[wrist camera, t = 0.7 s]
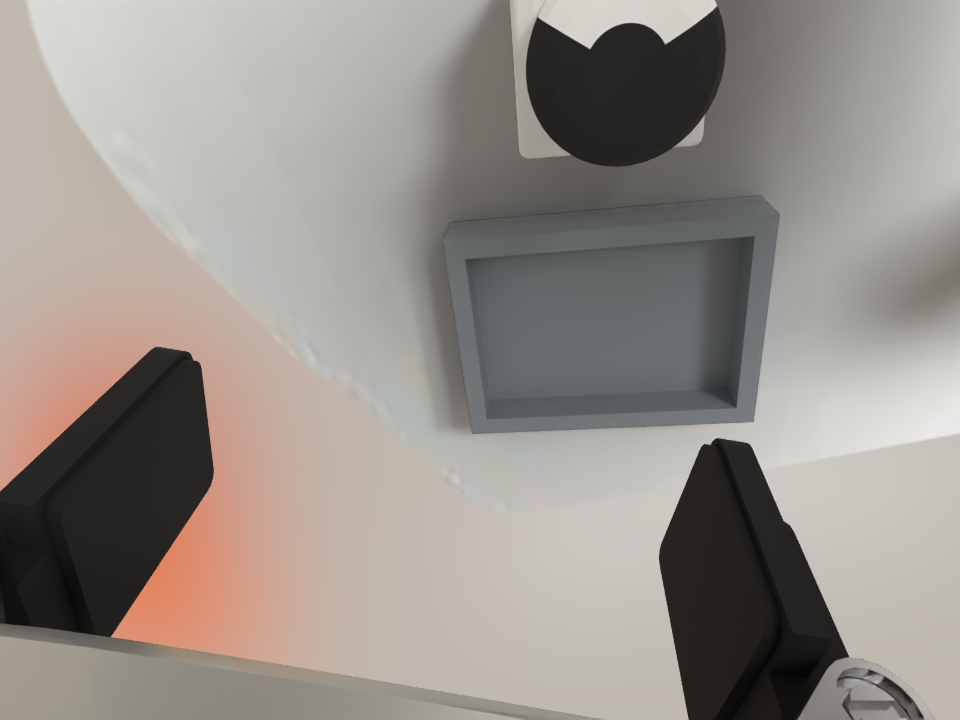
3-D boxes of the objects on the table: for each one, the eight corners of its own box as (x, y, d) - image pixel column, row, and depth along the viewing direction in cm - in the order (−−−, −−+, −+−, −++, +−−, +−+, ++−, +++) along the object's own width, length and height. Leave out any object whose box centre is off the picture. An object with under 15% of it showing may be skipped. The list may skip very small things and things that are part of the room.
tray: (760, 195, 32) (779, 213, 29) (739, 392, 38) (753, 421, 35) (450, 222, 34) (442, 241, 32) (476, 404, 40) (472, 433, 38)
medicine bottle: (671, 114, 30) (737, 181, 20) (524, 126, 31) (515, 197, 21) (681, -63, 27) (767, -91, 17) (514, -43, 28) (497, -59, 17)
